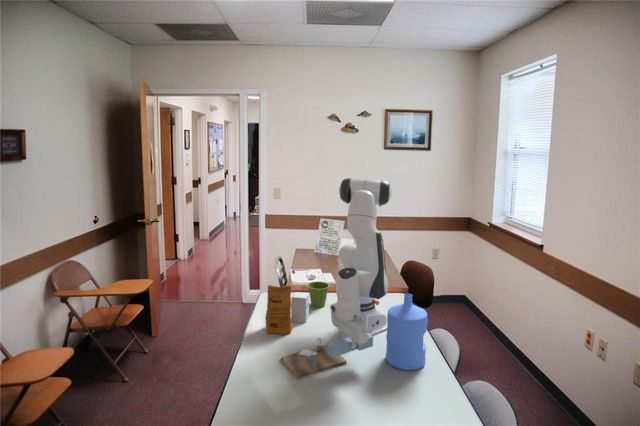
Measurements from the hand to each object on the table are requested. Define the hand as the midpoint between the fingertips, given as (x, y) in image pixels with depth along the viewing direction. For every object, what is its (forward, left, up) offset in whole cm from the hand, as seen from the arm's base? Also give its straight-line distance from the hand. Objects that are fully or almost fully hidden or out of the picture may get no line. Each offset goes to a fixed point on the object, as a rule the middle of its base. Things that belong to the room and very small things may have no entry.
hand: (349, 344), depth 166 cm
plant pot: (-19, -60, -10) cm, 64 cm away
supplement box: (-3, -49, -10) cm, 50 cm away
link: (0, 0, -2) cm, 2 cm away
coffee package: (+11, -43, -10) cm, 46 cm away
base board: (+10, -11, -10) cm, 18 cm away
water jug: (-23, +6, -10) cm, 26 cm away
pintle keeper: (+11, -10, -9) cm, 17 cm away
